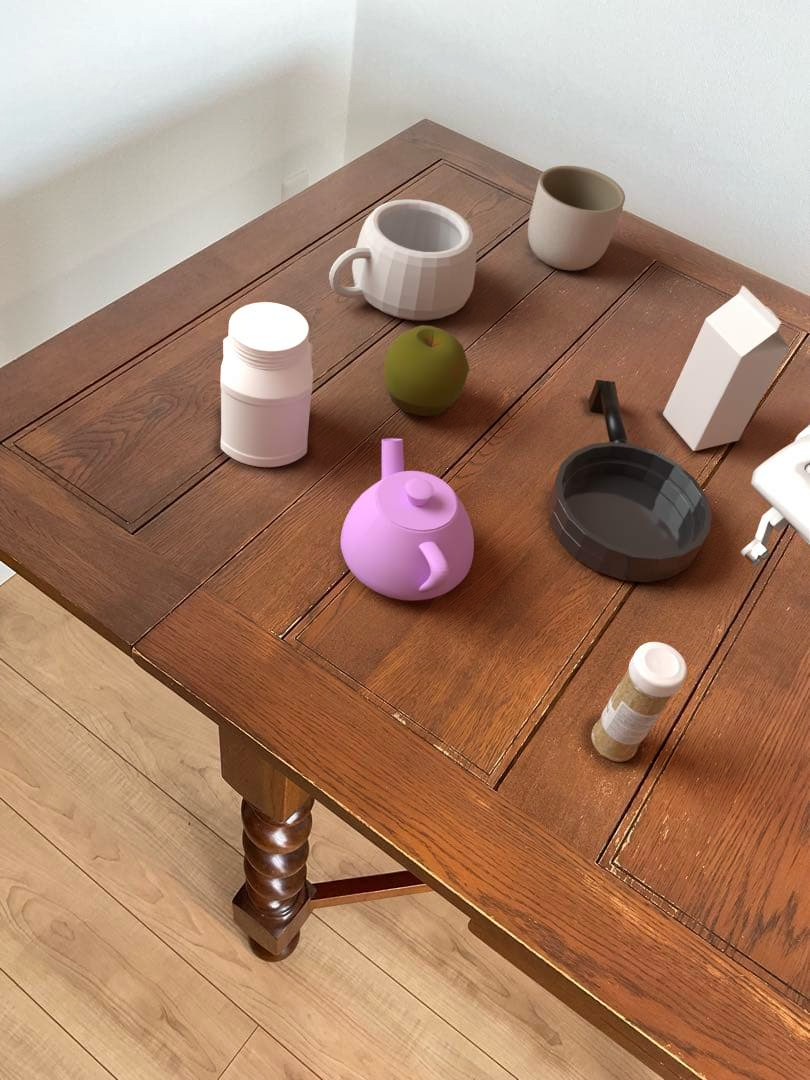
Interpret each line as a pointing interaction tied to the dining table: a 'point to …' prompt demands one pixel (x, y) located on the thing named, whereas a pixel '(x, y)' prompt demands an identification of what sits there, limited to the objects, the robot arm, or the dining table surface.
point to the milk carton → (726, 372)
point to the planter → (573, 216)
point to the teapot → (407, 533)
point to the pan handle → (608, 409)
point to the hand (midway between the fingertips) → (784, 599)
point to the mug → (411, 261)
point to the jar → (266, 385)
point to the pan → (628, 511)
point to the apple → (425, 370)
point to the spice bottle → (638, 700)
